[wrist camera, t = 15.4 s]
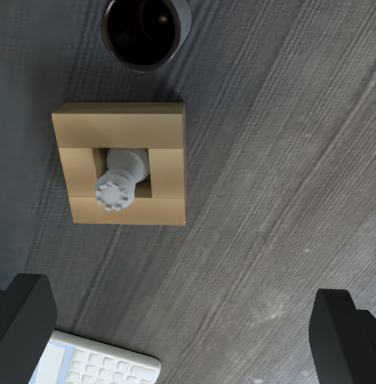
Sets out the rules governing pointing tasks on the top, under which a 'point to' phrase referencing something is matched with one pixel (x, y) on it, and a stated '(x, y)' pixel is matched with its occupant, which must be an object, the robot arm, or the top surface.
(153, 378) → the calculator
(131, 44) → the planter
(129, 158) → the rook chess piece
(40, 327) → the robot arm
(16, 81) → the top surface
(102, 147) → the holder
